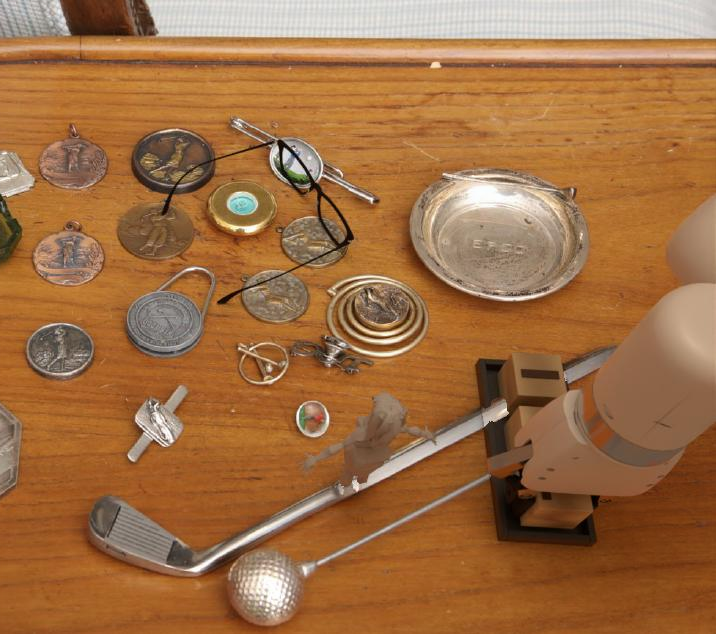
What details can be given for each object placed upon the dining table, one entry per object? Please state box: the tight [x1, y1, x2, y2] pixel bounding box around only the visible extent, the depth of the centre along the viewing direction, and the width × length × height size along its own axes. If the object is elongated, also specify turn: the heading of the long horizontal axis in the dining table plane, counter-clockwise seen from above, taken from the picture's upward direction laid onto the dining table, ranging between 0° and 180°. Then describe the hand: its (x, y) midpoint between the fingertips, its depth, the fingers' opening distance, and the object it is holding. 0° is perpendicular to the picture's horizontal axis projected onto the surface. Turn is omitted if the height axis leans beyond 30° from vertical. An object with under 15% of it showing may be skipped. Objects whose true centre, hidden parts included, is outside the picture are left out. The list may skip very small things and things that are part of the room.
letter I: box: [497, 351, 567, 417], centre depth 86 cm, size 4×4×5 cm
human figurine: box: [298, 391, 438, 488], centre depth 76 cm, size 12×4×18 cm, turn 103°
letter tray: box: [474, 357, 598, 548], centre depth 85 cm, size 8×18×2 cm, turn 176°
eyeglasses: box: [161, 138, 355, 305], centre depth 97 cm, size 16×16×4 cm
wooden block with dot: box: [503, 406, 543, 452], centre depth 83 cm, size 4×4×5 cm
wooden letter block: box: [520, 492, 594, 529], centre depth 79 cm, size 4×4×5 cm
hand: (544, 501), depth 81 cm, fingers closed on wooden letter block, 4 cm apart
